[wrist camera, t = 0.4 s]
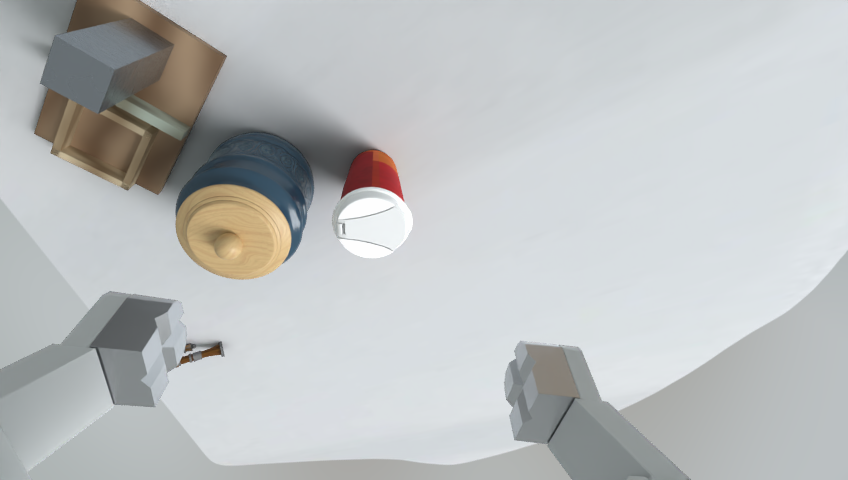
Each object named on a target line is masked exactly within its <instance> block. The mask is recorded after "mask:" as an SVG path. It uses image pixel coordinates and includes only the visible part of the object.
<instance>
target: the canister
mask: <svg viewBox="0 0 848 480" xmlns="http://www.w3.org/2000/svg"><path fill="white" fill-rule="evenodd" d="M313 194H314V181H313V176H312V172H311V169H310V166H309V164H308V162H307V161H306V159H305V157H304V156H303V155H302V154H301V152H300V151H299V150H298V149H297V148H295V147H294V146H293V145H292V144H290V143H289V142H287V141H286V140H284V139H282V138H280V137H277V136H275V135H271V134H267V133H260V132H251V133H245V134H241V135H238V136H235V137H233V138H230V139H228V140H227V141H225V142H224V143H222V144H221V145H220V146H219V147H218V148H217V149H216V150H215V151H214V152H213V153H212V155H211V156H210V158H209V160H208V162H207V163H206V164H205V165H203V166H202V167H201V168H200V169H199V170H198V171H197V172H196V173H195V174H194V176H193V177H192V179H191V180H190V181H189V182H188V183H187V184H186V185H185V186H184V187H183V189H182V190H181V192H180V194H179V196H178V199H177V203H176V233H177V237H178V239H179V242H180V244H181V246H182V248H183V249H184V251H185V252H186V253H187V255H188V256H189V257H190V258H191V259H192V260H193V261H194V262H196V263H197V264H198V265H199V266H201V267H202V268H204V269H206V270H207V271H209V272H211V273H214V274H216V275H219V276H222V277H226V278H231V279H253V278H258V277H262V276H264V275H267V274H269V273H271V272H272V271H274V270H275V269H277V268H278V267H279V266H280V265H281V264H283V263H284V262H286V261H287V260H288V259H289V258H290V257H291V256H292V255H293V254H294V253H295V251H296V250H297V248H298V246H299V244H300V242H301V238H302V232H303V230H304V227H305V224H306V220H307V211H308V209H309V207H310V205H311V202H312V198H313Z"/></svg>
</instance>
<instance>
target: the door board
mask: <svg viewBox="0 0 848 480" xmlns="http://www.w3.org/2000/svg"><path fill="white" fill-rule="evenodd" d="M127 18H132V19H134V20H136V21H137V22H139V23H141V24H142V25H144V26H145V27H147V28H149V29H150V30H152V31H153V32H155V33H157V34H158V35H160V36H161V37H163V38H165V39H166V40H168V41H170V42H171V43H173V44H174V47H173V50H172V52H171V54H170V57H169V59H168V61H167V64H166V66H165V68H164V71H163V73H162V75H161V78H160V80H159V81H157V82H155V83H153V84H152V85H150V86H148V87H146V88H144V89H143V90H141V91H139V92H137V93H135V94H134V95H132V96H130V97H128V98H126V99H124V100H123V101H121V102H119V103H117V104H115V105H114V106H112V107H110V108H108V109H106V110H105V111H103V112H101V113H99V114H97V113H95V112H93V111H91V110H89V109H87V108H85V107H83V106H82V105H80V104H78V103H76V102H74V101H72V100H70V99H68V98H66V97H65V96H63V95H61V94H59V93H57V92H55V91H53V90H51V89H48V92H47V95H46V98H45V101H44V105H43V108H42V111H41V114H40V117H39V120H38V123H37V126H36V129H35V133H34V134H36V135H38V136H40V137H42V138H44V139H46V140H48V141H50V142H52V143H54V144H53V147H52V150H51V154H53V155H55V156H58V157H60V158H62V159H64V160H66V161H68V162H70V163H72V164H74V165H76V166H78V167H80V168H82V169H84V170H86V171H88V172H91V173H93V174H95V175H97V176H99V177H101V178H103V179H105V180H107V181H109V182H111V183H113V184H115V185H117V186H119V187H122V188H124V189H126V190H129V189H130V188H131V187H132V186H133V185H134V184H137V185H139V186H141V187H143V188H145V189H147V190H149V191H151V192H153V193H155V194H159V193H160V192H161V191H162V189H163V187H164V185H165V183H166V181H167V179H168V177H169V174H170V172H171V170H172V168H173V166H174V164H175V162H176V160H177V158H178V156H179V154H180V152H181V150H182V148H183V146H184V144H185V141H186V139H187V137H188V135H189V133H190V131H191V129H192V127H193V125H194V123H195V121H196V119H197V117H198V115H199V113H200V111H201V108H202V106H203V104H204V102H205V100H206V98H207V96H208V94H209V92H210V90H211V88H212V86H213V84H214V82H215V80H216V78H217V75H218V73H219V71H220V69H221V67H222V65H223V63H224V61H225V59H226V57H227V56H226V55H224V54H223V53H221V52H220V51H218V50H217V49H215V48H213V47H212V46H210V45H209V44H207V43H206V42H204V41H202V40H201V39H199V38H198V37H196V36H195V35H193V34H192V33H190V32H188V31H187V30H185V29H184V28H182V27H181V26H179V25H177V24H176V23H174V22H173V21H171V20H170V19H168V18H166V17H165V16H163V15H162V14H160V13H159V12H157V11H155V10H154V9H152V8H151V7H149V6H148V5H146V4H144V3H143V2H141V1H140V0H77V2H76V5H75V8H74V11H73V14H72V17H71V21H70V24H69V27H68V30H67V33H68V32H72V31H76V30H81V29H85V28H89V27H93V26H97V25H102V24H106V23H110V22H114V21H119V20H123V19H127ZM47 60H48V59H47Z"/></svg>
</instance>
